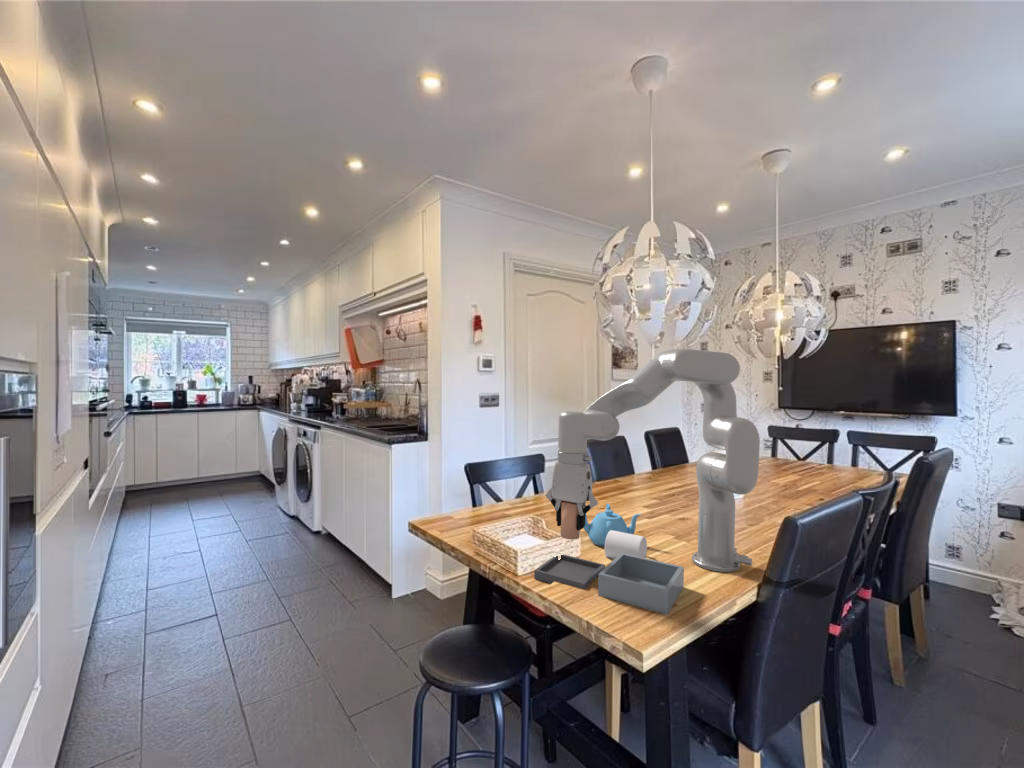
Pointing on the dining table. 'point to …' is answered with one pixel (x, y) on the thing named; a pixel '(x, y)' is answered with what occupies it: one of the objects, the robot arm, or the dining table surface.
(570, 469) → the robot arm
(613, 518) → the teapot
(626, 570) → the bin
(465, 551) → the dining table surface
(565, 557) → the tray
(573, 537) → the cylinder
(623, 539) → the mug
